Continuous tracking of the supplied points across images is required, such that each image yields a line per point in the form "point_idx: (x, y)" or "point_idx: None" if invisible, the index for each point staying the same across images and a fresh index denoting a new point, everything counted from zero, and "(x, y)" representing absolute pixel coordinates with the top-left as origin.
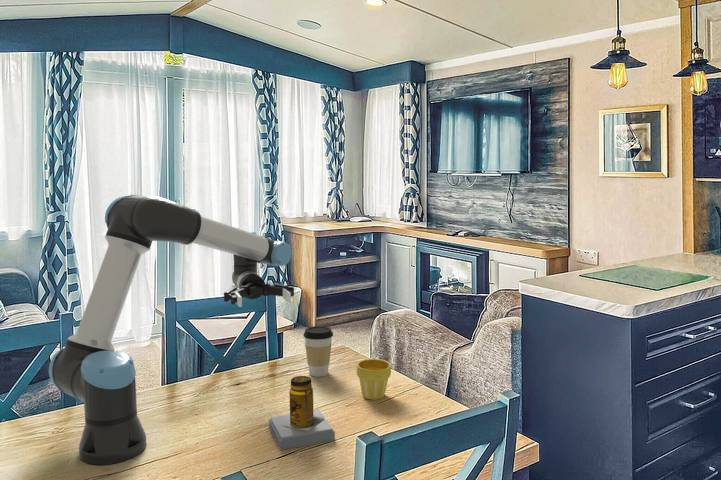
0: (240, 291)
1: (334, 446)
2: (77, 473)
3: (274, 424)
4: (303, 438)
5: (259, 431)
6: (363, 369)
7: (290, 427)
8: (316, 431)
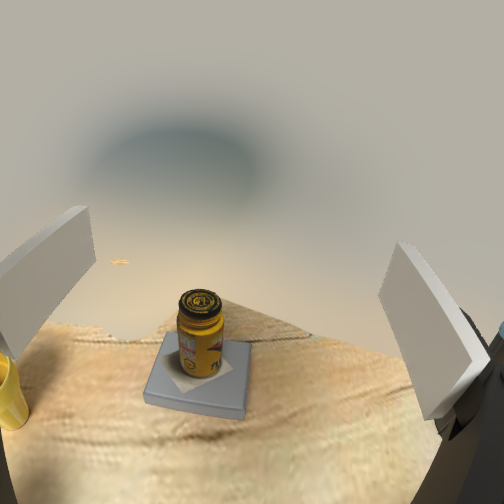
0: (462, 473)
1: None
2: None
3: (245, 380)
4: None
5: (264, 415)
6: (10, 369)
7: (224, 359)
8: None
